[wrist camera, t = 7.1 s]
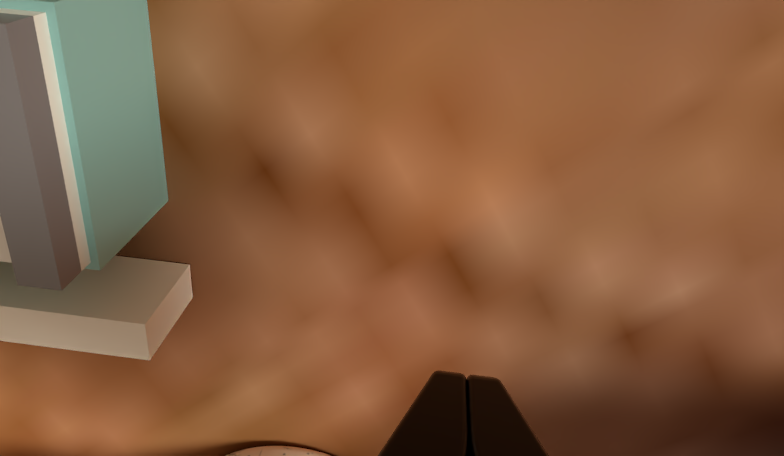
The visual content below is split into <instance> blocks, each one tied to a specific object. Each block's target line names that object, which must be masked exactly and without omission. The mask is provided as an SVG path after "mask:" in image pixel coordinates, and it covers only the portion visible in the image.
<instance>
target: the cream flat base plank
mask: <svg viewBox="0 0 784 456" xmlns="http://www.w3.org/2000/svg"><path fill="white" fill-rule="evenodd" d="M192 298H193V294H192V283H191V272H190V265H189V264H181V263H173V262H165V261H156V260H148V259H140V258H132V257H123V256H114V257H113V258H112V259H111V260H110V261H109V262H108V263H107V264H106V265H105V266H104V267H103V268H102V269H101V270H91V269H83V270H82V271H81V272H80V273H79V274H78V275H77V276H76V277H75V278H74V279H73V280H72V281H71V282H70V283H69V284H68V285H67V286H66V287H65V288H64V289H63V290H62V291H60V290H52V289H44V288H36V287H28V286H20V285H17V281H16V277H15V273H14V269H13V265H12V263H10V262H1V261H0V341H6V342H14V343H21V344H29V345H36V346H44V347H52V348H59V349H67V350H74V351H82V352H89V353H97V354H105V355H112V356H120V357H127V358H135V359H142V360H151V358H152V357H153V355H154V354H155V352H156V351H157V349H158V348H159V347H160V345H161V344H162V342H163V341H164V339H165V338H166V336H167V335H168V333H169V332H170V330H171V329H172V327H173V326H174V324H175V323H176V322H177V320H178V319H179V317H180V316H181V314H182V313H183V311H184V310H185V308H186V307H187V305H188V304H189V302H190V301H191V300H192Z"/></svg>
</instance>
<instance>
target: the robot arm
mask: <svg viewBox="0 0 784 456" xmlns="http://www.w3.org/2000/svg"><path fill="white" fill-rule="evenodd" d="M378 456H548V454H547V453H546V451H545V450H544V448H543V446H542V445H541V443H540V442H539V440H538V439H537V437H536V436H535V434H534V432H533V431H532V429H531V428H530V426H529V425H528V423H527V422H526V420H525V418H524V417H523V415H522V414H521V412H520V411H519V409H518V407H517V406H516V404H515V403H514V401H513V400H512V398H511V397H510V395H509V393H508V392H507V390H506V389H505V387H504V386H503V384H502V383H501V381H500V380H498V379H497V378H493V377H485V376H477V375H470V376H468V377H467V379H466V377H465V376H464V375H463V374H461V373H454V372H446V371H436V372H434V373H433V374H432V375H431V377H430V378H429V380H428V381H427V383H426V384H425V386H424V387H423V389H422V390H421V392H420V393H419V395H418V396H417V398H416V399H415V401H414V402H413V404H412V405H411V407H410V408H409V410H408V411H407V413H406V414H405V416H404V417H403V419H402V420H401V422H400V423H399V425H398V426H397V428H396V429H395V431H394V432H393V434H392V435H391V437H390V438H389V440H388V441H387V443H386V444H385V446H384V447H383V449H382V450H381V452H380V453H379V455H378Z"/></svg>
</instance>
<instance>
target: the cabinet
mask: <svg viewBox="0 0 784 456" xmlns="http://www.w3.org/2000/svg"><path fill="white" fill-rule="evenodd" d="M167 202H168V192H167V183H166V173H165V164H164V155H163V146H162V136H161V127H160V118H159V109H158V99H157V90H156V81H155V71H154V62H153V53H152V44H151V34H150V25H149V16H148V7H147V0H0V261H1V262H10V263H12V265H13V269H14V273H15V277H16V281H17V285H20V286H28V287H36V288H44V289H52V290H60V291H62V290H63V289H64V288H65V287H66V286H67V285H68V284H69V283H70V282H71V281H72V280H73V279H74V278H75V277H76V276H77V275H78V274H79V273H80V272H81V271H82V270H83V269H91V270H101V269H102V268H103V267H104V266H105V265H106V264H107V263H108V262H109V261H110V260H111V259H112V258H113V257H114V256H115V255H116V254H117V253H118V252H119V251H120V250H121V249H122V248H123V247H124V246H125V245H126V244H127V243H128V242H129V241H130V240H131V239H132V238H133V237H134V236H135V235H136V234H137V233H138V232H139V231H140V230H141V228H142V227H143V226H144V225H145V224H146V223H147V222H148V221H149V220H150V219H151V218H152V217H153V216H154V215H155V214H156V213H157V212H158V211H159V210H160V209H161V208H162V207H163V206H164V205H165V204H166V203H167Z"/></svg>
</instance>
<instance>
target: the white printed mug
mask: <svg viewBox="0 0 784 456" xmlns="http://www.w3.org/2000/svg"><path fill="white" fill-rule="evenodd" d="M226 456H331V455H328V454H325V453H322V452H318V451H314V450H310V449H305V448H299V447H291V446H261V447H253V448H248V449H243V450H240V451H237V452H233V453H231V454H228V455H226Z"/></svg>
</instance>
